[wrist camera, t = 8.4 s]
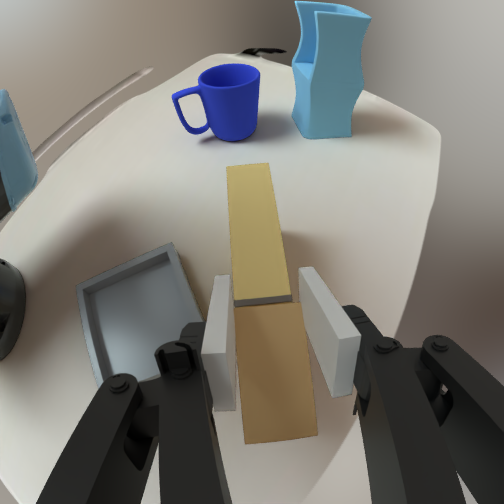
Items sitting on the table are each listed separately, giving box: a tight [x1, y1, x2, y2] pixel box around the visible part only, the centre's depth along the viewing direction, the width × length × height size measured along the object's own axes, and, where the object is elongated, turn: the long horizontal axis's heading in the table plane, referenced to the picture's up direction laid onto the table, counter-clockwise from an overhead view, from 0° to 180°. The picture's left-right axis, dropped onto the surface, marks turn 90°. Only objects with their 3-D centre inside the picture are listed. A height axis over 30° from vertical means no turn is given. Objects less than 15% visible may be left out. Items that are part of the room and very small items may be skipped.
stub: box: [234, 302, 318, 444], centre depth 17 cm, size 7×4×10 cm, turn 5°
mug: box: [172, 64, 260, 141], centre depth 36 cm, size 8×12×10 cm
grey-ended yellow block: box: [226, 163, 292, 308], centre depth 24 cm, size 12×4×10 cm, turn 5°
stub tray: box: [76, 242, 205, 388], centre depth 26 cm, size 12×12×2 cm
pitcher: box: [292, 1, 372, 139], centre depth 33 cm, size 8×8×20 cm
